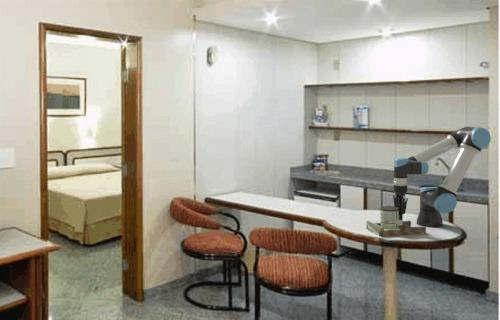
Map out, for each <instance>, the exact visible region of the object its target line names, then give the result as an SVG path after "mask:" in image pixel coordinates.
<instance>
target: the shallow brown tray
mask: <svg viewBox="0 0 500 320" xmlns="http://www.w3.org/2000/svg"><path fill="white" fill-rule="evenodd" d="M380 224H381V221H380V222H373V221H371V220H366V230H367V229H368V230H367V231H369V230H370V231H369V232H371V231H372V232H371V233H373V232H374V233H376V234H377V235H376V234H375V235H376V236H378V235H379V237H380V236H381V237H391V236H392V237H394V236H405V235H406V236H407V235H409V236H410V235H421V234H423V235H424V234H426V232H427V231H426V230H427V226H413V227H412V221H411V220H403V221H402V225H399V227H398V228H393V229H384V227H382V226H380ZM374 233H373V234H374Z"/></svg>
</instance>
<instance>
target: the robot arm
mask: <svg viewBox="0 0 500 320" xmlns="http://www.w3.org/2000/svg"><path fill="white" fill-rule="evenodd" d="M491 139H492V138H491V134H490V132H489V130H488V129H487V128H484V127H481V126H465V127H462V128H459V129H457V130H455V131H453V132H451V133H450V134H448V135H447V136H446V138H444V139H442V140H440V141H439V142H436V143H434V144H432V145H430V146H429V147H427V148H425V149H423V150H421V151H419V152H417V153H416V154H414V155H412V156H410V157H408V158H405V157H398V158H397V157H396V158H394V161H393V192H394V193H395V194H393V195H392V199H393V207H398V208H399V225H402V221H404V219H403V217H404V215H405V214H406V211H407V210H406V209H407V205H408V204H407V203H408V200H409V199H408V197H406V193H407V192H408V178H409V177H408V175H426V174H428V173H429V168H430V167H429V164H428V162H430V161H432V160H434V159H436V158H438V157H440V156H442V155H444V154H446V153H448V152H450V151H451V150H456V149H459V148H460V150H459V151H458V153H457V156H456V158H455V159H454V161H453V163H452V165H451V167H450V169H449V170H448V172H447V174H446V176H445V178H444V180H443V182H442V183H441V184H440V185H437V186H427V187H425V186H423V187H421V188H420V190H419V212H418V215H417V218H416V224H417V225H418V226H421V227H423V226H424V227H430V228H431V227H432V228H433V227H435V228H436V227H442V226H443V224H444V222H443V221H444V220H443V218H442V215H441V213H443V214H447V213H451V212H453V211H454V210H455V209H456V208H457V205H458V201H457V197H458V192H457V191H458V189H459V187H460V186H461V183H462V182H463V179H464V178H465V176H466V173H467V172H468V170H469V168H470V167H471V164H472V162H473V160H474V159H475V157H476V155H478V154H480V153H481V152H482V150H483V149H485V148H487V147H488V146H489V144H490V143H491Z"/></svg>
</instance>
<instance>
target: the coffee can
mask: <svg viewBox="0 0 500 320" xmlns="http://www.w3.org/2000/svg"><path fill="white" fill-rule="evenodd" d="M380 222H381V224H380V226H382V227H384V229H393V228H398V227H399V208H398V207H394V205H393V206H392V205H386V206H380Z"/></svg>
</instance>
